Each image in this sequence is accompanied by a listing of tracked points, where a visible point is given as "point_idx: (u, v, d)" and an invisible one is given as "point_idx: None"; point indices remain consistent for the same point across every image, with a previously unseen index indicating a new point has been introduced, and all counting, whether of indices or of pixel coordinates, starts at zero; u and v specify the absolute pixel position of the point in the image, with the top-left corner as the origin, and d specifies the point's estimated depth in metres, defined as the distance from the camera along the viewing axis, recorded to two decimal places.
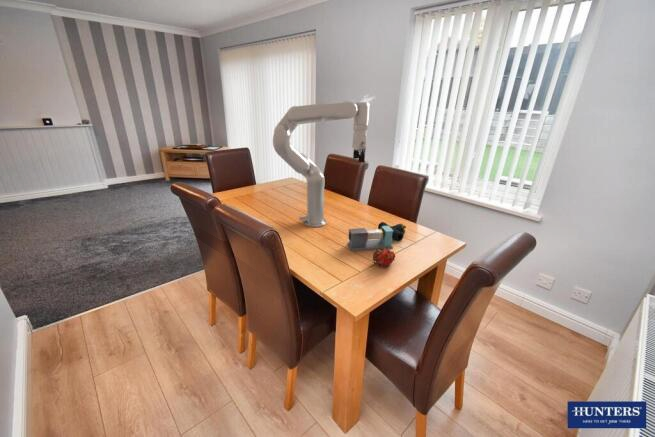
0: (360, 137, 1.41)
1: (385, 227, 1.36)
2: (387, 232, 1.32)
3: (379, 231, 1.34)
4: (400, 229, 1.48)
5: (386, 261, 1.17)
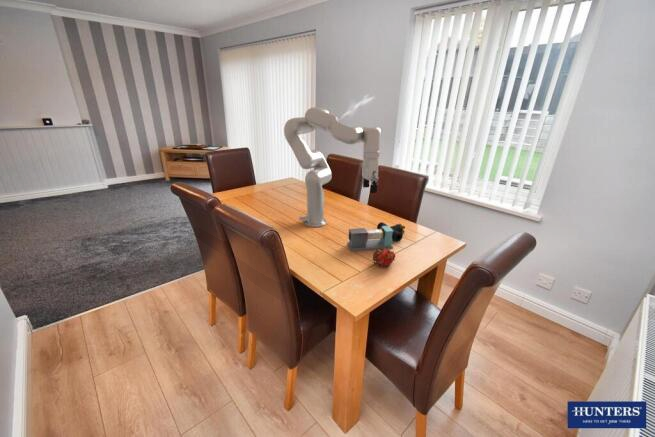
0: (372, 166, 1.26)
1: (385, 227, 1.36)
2: (387, 232, 1.32)
3: (379, 231, 1.34)
4: (399, 229, 1.47)
5: (386, 261, 1.17)
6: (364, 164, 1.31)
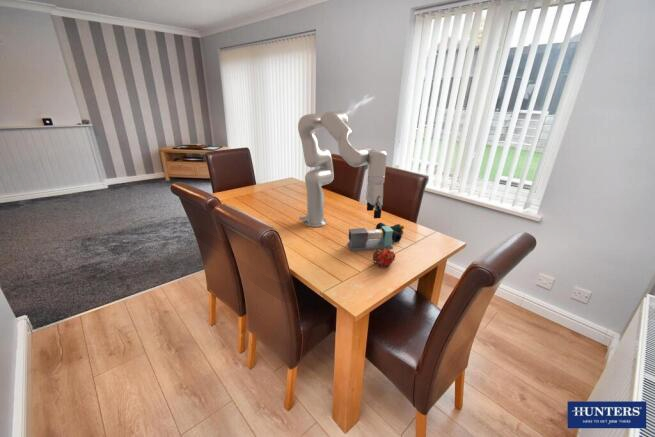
0: (376, 191, 1.20)
1: (385, 227, 1.36)
2: (387, 232, 1.32)
3: (379, 231, 1.34)
4: (398, 230, 1.47)
5: (386, 261, 1.17)
6: (368, 188, 1.25)
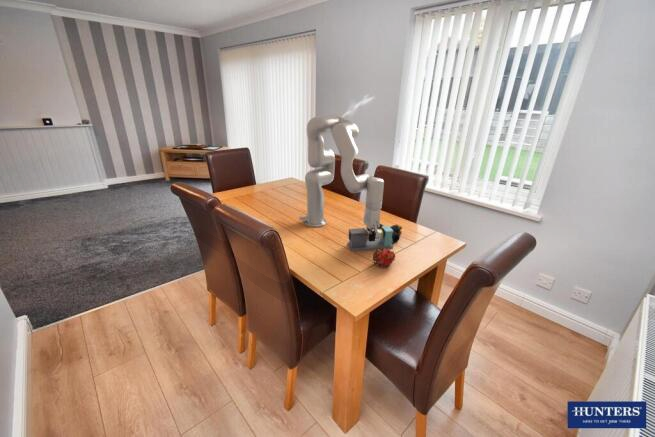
0: (374, 216, 1.25)
1: (385, 227, 1.36)
2: (387, 232, 1.32)
3: (379, 231, 1.34)
4: (396, 230, 1.46)
5: (386, 261, 1.17)
6: (366, 212, 1.30)
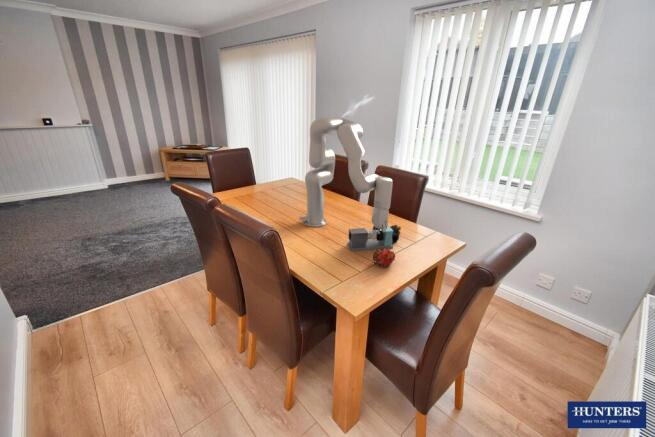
0: (382, 216, 1.26)
1: None
2: (387, 232, 1.32)
3: None
4: (395, 230, 1.46)
5: (386, 261, 1.17)
6: (374, 212, 1.31)
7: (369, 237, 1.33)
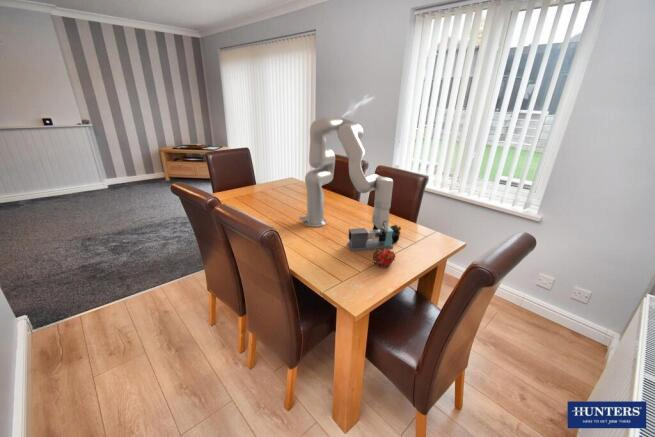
0: (383, 216, 1.26)
1: None
2: (387, 232, 1.32)
3: None
4: (395, 231, 1.46)
5: (386, 261, 1.17)
6: (375, 212, 1.31)
7: (369, 237, 1.33)
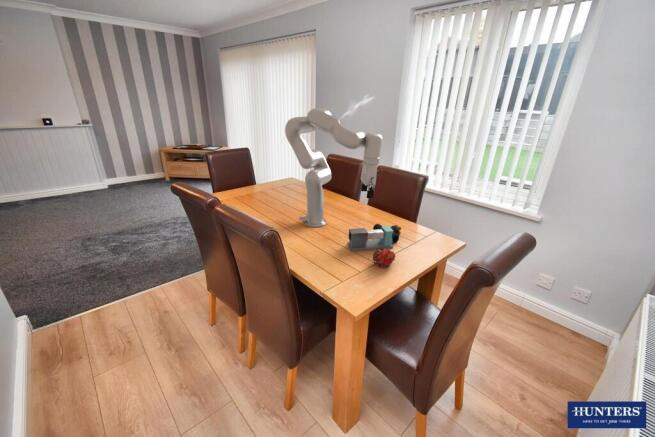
0: (370, 172, 1.28)
1: (385, 227, 1.36)
2: (387, 232, 1.32)
3: None
4: (395, 231, 1.46)
5: (386, 261, 1.17)
6: (363, 169, 1.33)
7: (369, 237, 1.33)
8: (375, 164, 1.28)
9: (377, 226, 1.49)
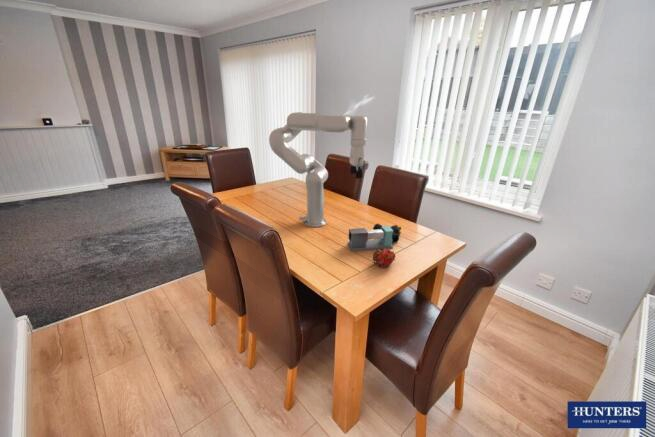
0: (358, 152, 1.34)
1: (385, 227, 1.36)
2: (387, 232, 1.32)
3: None
4: (395, 231, 1.46)
5: (386, 261, 1.17)
6: (351, 151, 1.39)
7: (369, 237, 1.33)
8: (362, 145, 1.35)
9: (377, 226, 1.49)
